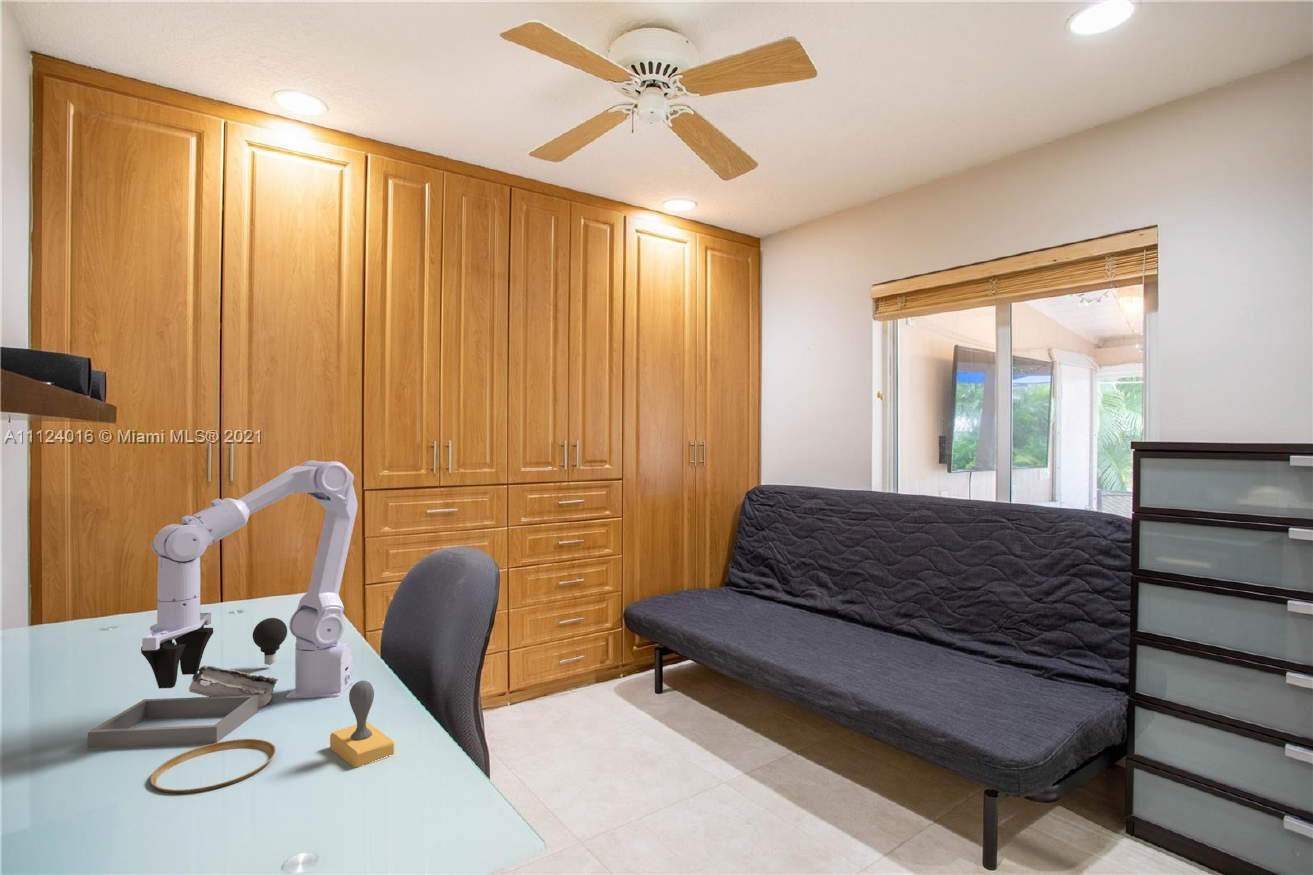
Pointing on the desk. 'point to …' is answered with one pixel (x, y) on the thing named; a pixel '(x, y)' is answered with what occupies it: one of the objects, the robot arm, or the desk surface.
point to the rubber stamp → (361, 731)
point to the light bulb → (270, 637)
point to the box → (122, 735)
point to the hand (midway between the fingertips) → (178, 680)
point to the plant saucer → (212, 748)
